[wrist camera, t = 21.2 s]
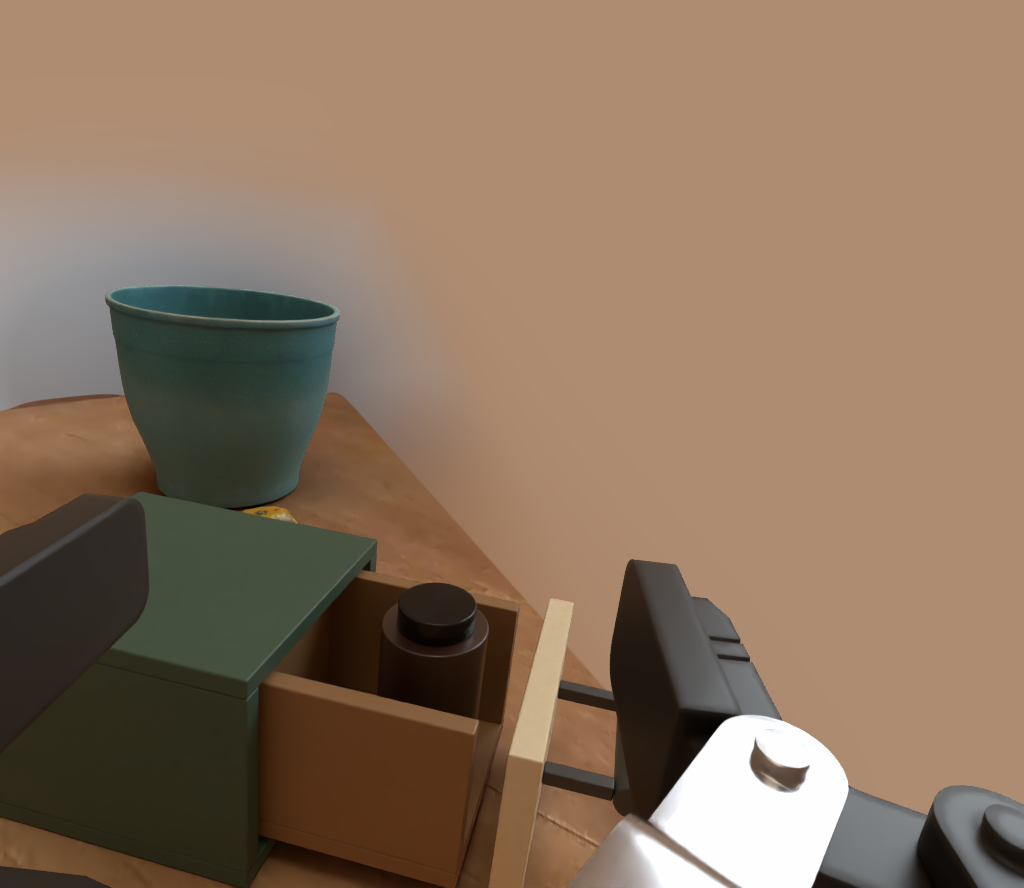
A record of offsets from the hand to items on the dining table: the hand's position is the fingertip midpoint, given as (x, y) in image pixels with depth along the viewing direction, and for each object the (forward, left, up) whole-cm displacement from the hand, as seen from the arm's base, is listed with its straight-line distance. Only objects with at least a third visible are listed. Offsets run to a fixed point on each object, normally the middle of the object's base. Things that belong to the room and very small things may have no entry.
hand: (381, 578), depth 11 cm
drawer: (+1, -13, -18) cm, 23 cm away
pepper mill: (+2, -13, -17) cm, 22 cm away
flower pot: (+30, -41, -20) cm, 55 cm away
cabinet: (+14, -13, -19) cm, 27 cm away
